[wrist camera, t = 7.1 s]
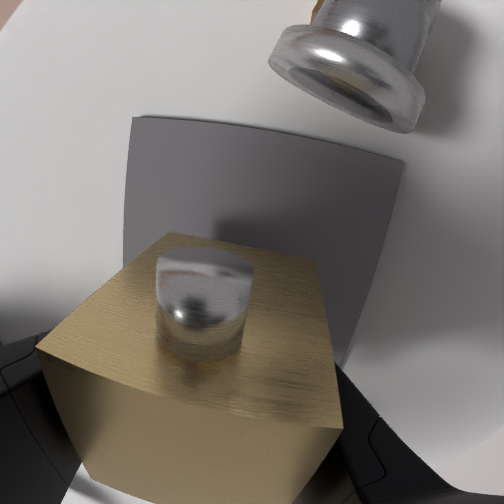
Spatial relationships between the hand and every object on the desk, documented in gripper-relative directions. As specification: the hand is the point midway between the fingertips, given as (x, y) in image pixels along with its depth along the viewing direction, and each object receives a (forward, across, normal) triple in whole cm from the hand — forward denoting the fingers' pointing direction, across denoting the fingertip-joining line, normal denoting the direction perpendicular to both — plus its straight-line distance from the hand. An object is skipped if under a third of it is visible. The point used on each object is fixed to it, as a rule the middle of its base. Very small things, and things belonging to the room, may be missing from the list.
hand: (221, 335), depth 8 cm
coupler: (+2, 0, 0) cm, 2 cm away
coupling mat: (+3, 0, 0) cm, 3 cm away
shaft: (+3, -2, -9) cm, 9 cm away
